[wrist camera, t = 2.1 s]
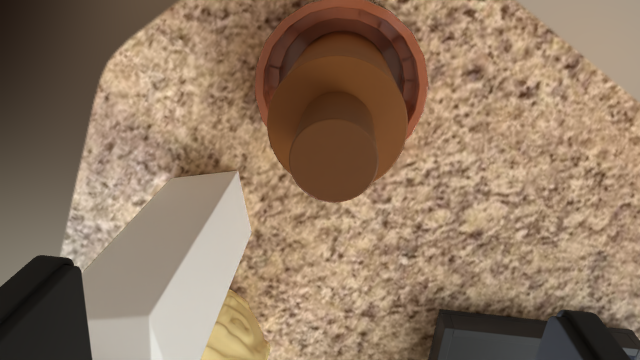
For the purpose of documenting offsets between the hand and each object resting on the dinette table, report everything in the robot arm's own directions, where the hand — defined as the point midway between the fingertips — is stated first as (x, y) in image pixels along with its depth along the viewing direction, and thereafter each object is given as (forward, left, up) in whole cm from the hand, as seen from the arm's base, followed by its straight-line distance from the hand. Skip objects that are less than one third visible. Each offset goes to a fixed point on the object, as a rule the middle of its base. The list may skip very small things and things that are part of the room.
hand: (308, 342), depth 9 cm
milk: (+10, +12, -29) cm, 33 cm away
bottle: (0, 0, -28) cm, 28 cm away
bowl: (0, 0, -29) cm, 29 cm away
